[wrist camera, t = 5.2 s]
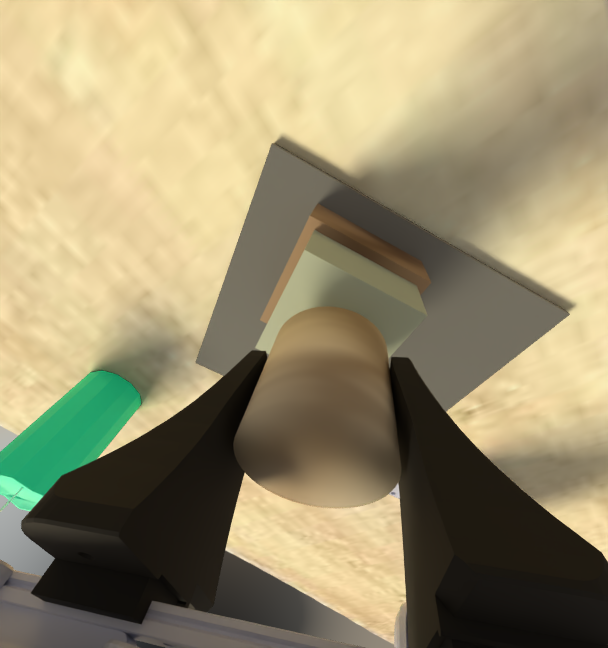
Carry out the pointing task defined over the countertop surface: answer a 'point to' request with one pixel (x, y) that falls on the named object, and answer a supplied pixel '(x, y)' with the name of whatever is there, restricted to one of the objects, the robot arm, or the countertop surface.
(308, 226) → the tower base
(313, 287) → the tower top
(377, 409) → the tan rounded cylinder
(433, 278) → the mat
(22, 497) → the candle
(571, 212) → the countertop surface
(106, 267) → the countertop surface
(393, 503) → the countertop surface
